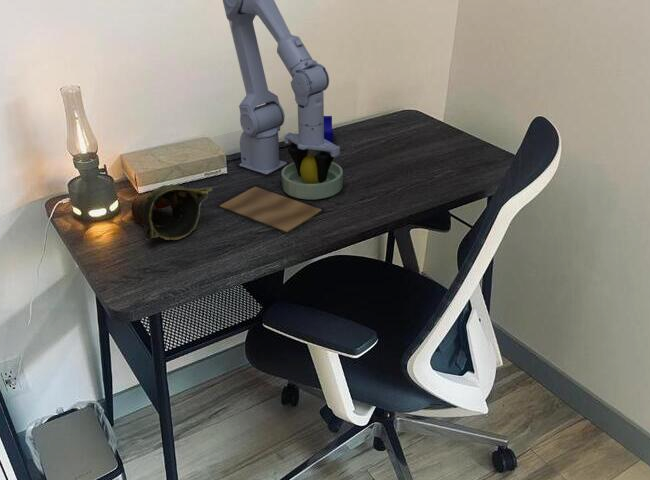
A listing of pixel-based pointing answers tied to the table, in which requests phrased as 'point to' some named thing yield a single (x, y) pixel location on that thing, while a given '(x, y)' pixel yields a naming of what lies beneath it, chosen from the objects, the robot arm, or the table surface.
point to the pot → (177, 200)
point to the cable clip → (328, 129)
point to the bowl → (302, 190)
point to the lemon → (309, 170)
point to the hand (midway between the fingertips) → (312, 177)
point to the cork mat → (271, 209)
